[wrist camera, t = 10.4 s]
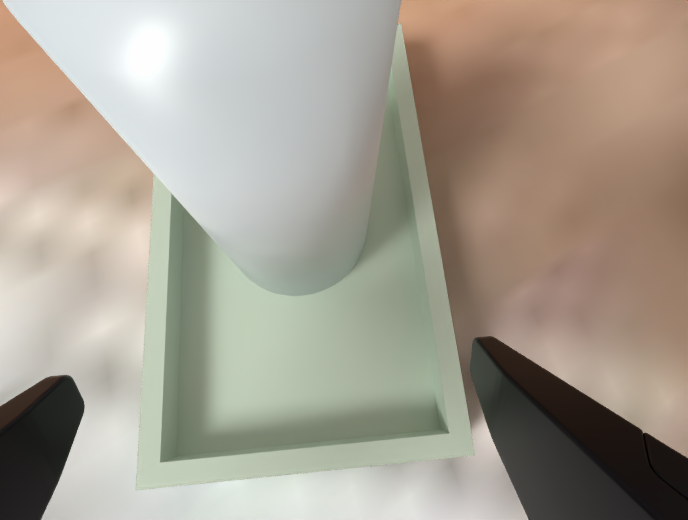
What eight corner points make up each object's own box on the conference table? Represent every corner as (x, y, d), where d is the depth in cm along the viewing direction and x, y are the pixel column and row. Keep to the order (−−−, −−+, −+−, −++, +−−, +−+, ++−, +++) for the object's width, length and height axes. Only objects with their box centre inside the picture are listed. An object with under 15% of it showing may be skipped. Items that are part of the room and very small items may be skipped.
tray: (456, 445, 17) (475, 455, 14) (165, 475, 16) (135, 490, 14) (394, 61, 23) (401, 23, 20) (180, 75, 22) (161, 38, 20)
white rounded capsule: (395, 228, 19) (498, -92, 6) (293, 326, 17) (161, 170, 5) (300, 142, 20) (229, -259, 8) (199, 227, 19) (-92, -93, 6)
